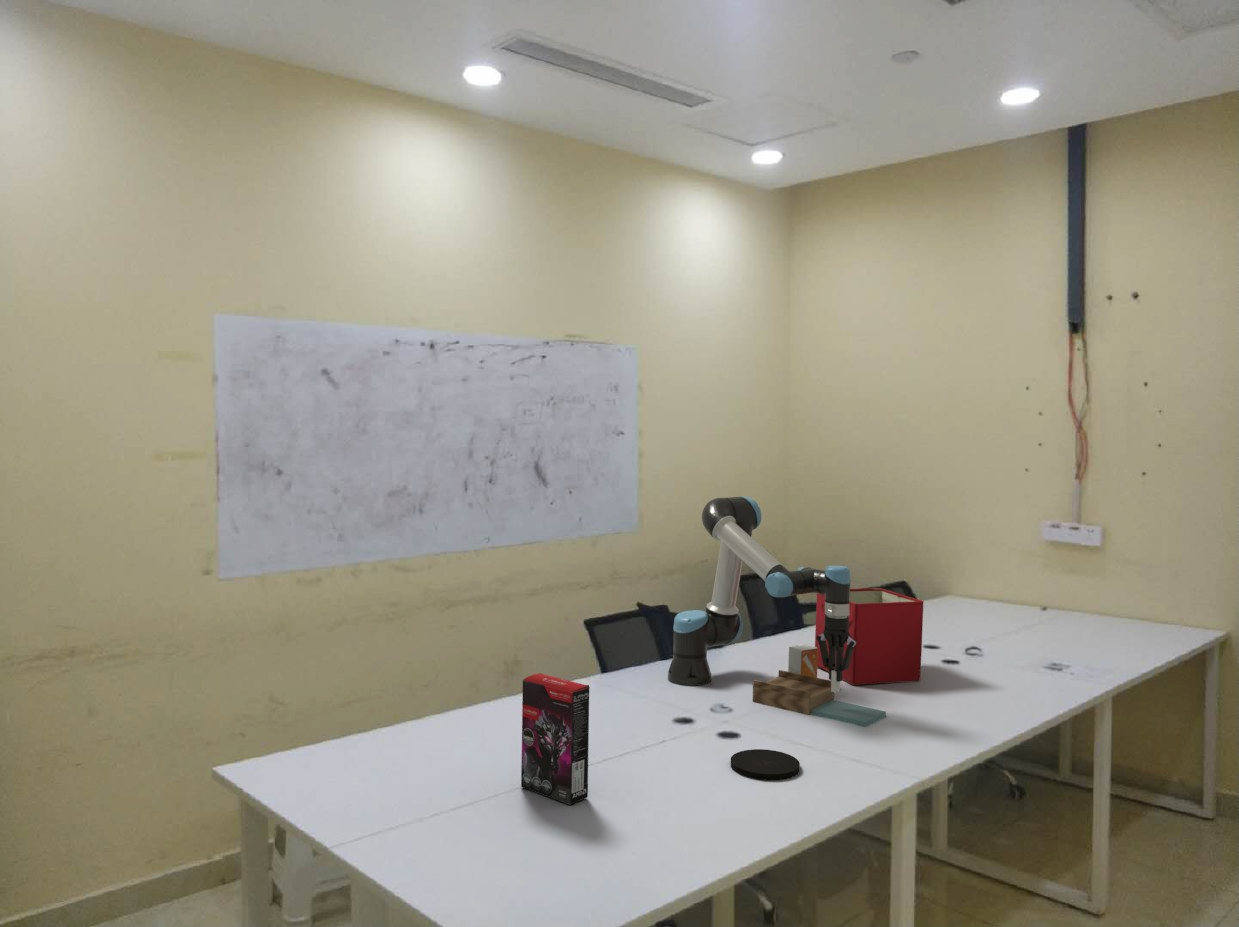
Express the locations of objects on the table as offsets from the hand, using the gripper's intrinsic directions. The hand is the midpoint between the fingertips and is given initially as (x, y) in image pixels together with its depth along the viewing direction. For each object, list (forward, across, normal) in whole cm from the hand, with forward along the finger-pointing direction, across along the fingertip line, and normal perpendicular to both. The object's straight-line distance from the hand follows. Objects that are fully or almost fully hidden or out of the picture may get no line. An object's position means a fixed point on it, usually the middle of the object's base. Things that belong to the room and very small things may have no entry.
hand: (835, 690), depth 291 cm
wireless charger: (+7, +8, -55) cm, 57 cm away
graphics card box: (+7, -20, -104) cm, 107 cm away
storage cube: (+7, -13, +48) cm, 51 cm away
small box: (+7, -23, +20) cm, 31 cm away
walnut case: (+7, -15, 0) cm, 16 cm away
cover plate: (+7, +4, 0) cm, 9 cm away
